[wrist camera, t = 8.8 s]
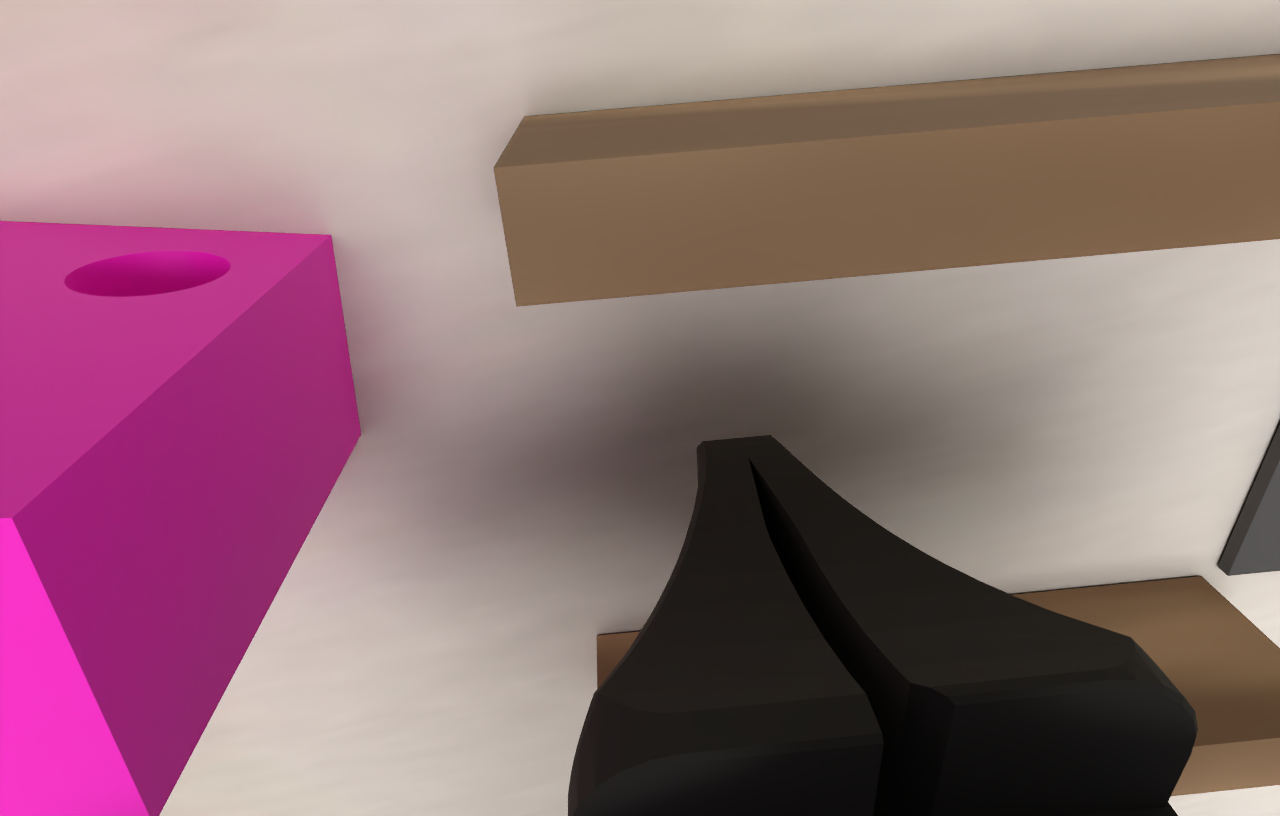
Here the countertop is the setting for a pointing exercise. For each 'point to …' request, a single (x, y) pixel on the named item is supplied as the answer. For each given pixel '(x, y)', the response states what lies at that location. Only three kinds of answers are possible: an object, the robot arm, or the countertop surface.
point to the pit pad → (1258, 522)
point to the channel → (934, 254)
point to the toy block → (151, 488)
